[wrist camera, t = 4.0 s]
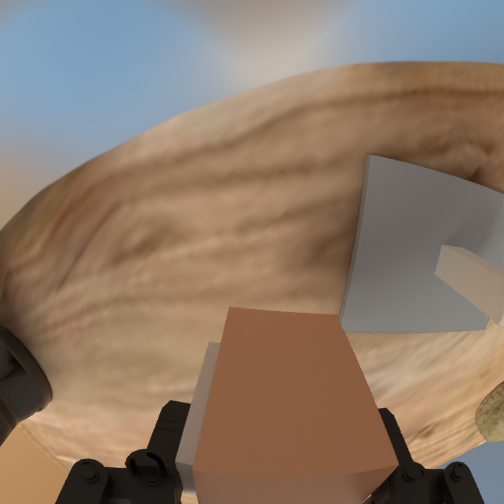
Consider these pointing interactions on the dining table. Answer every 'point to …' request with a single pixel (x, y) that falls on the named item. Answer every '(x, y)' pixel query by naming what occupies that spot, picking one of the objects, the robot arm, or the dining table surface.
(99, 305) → the dining table surface
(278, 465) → the peach square-faced block
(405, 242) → the grey flat base
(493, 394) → the decorative object
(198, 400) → the robot arm
